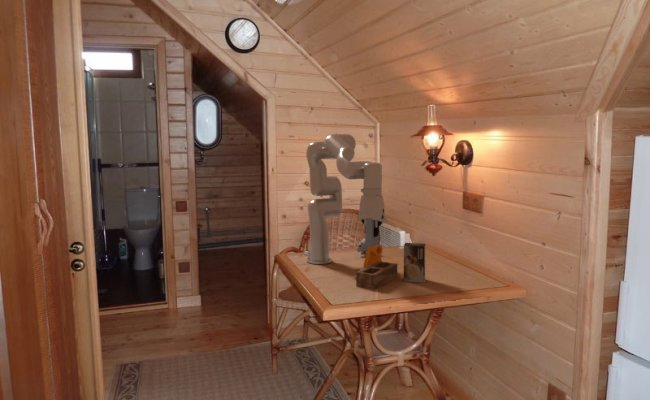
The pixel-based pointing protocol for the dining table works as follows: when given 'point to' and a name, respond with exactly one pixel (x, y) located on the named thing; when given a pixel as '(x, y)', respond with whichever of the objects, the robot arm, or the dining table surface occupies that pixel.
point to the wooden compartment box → (376, 275)
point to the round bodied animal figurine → (362, 247)
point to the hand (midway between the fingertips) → (372, 235)
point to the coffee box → (414, 262)
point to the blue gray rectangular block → (370, 233)
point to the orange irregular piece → (373, 255)
